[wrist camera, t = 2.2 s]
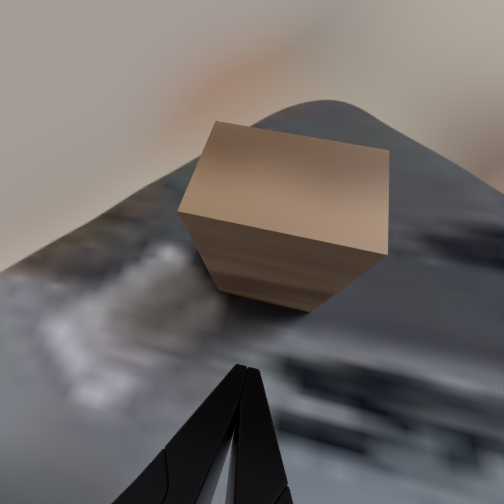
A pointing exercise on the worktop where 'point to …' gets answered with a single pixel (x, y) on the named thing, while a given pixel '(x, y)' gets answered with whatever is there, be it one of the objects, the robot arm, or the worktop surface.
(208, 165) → the walnut block
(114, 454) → the worktop surface
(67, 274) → the worktop surface
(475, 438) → the worktop surface
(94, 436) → the worktop surface
